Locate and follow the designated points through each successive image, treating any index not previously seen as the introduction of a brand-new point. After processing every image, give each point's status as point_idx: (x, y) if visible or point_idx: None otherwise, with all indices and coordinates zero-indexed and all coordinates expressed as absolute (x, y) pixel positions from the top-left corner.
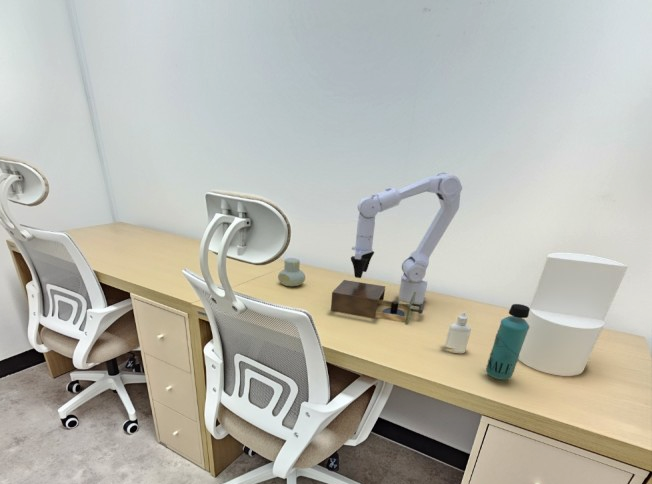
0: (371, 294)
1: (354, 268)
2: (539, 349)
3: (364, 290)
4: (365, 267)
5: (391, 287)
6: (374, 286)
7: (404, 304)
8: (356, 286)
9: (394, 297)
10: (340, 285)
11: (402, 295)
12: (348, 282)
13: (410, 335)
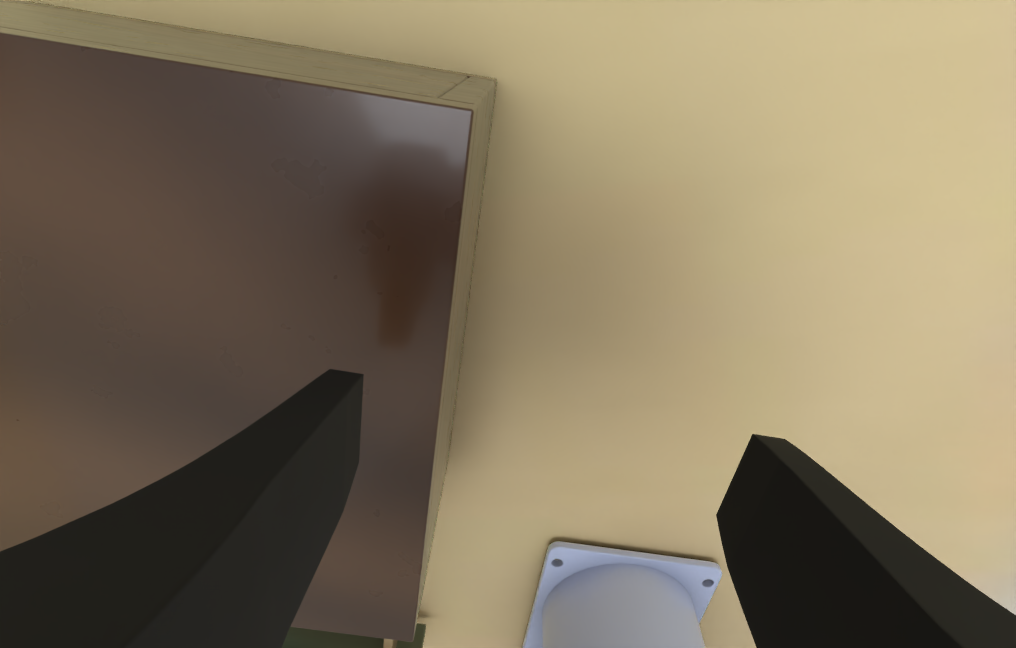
0: (42, 532)
1: (185, 479)
2: None
3: (126, 460)
4: (757, 572)
5: (986, 518)
6: (347, 552)
7: (385, 639)
8: (223, 355)
9: (718, 535)
10: (107, 86)
11: (565, 642)
12: (350, 216)
13: None
